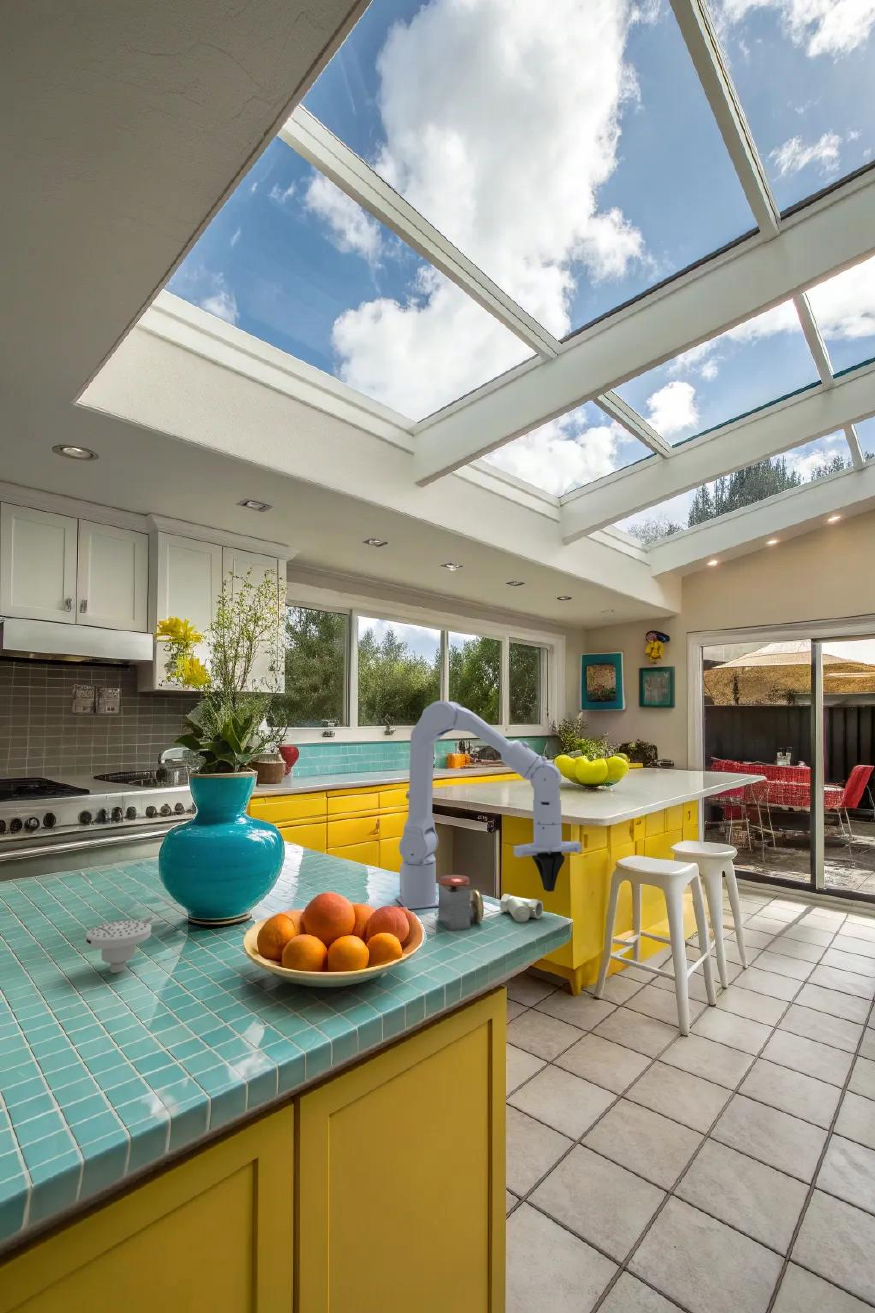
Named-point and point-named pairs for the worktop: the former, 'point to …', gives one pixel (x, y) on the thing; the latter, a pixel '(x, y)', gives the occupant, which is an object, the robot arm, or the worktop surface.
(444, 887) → the grey block with discs
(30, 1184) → the worktop surface
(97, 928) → the showerhead
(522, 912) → the pipe fitting
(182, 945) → the worktop surface
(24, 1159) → the worktop surface
